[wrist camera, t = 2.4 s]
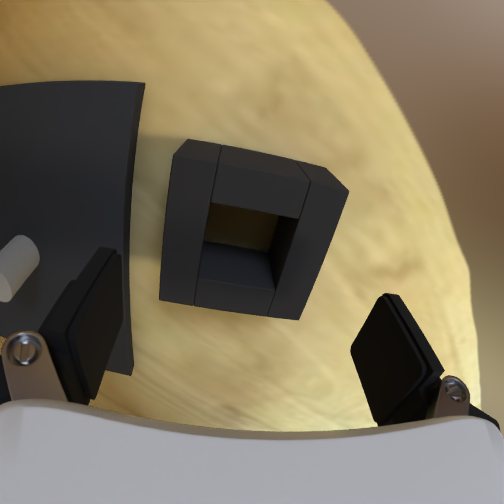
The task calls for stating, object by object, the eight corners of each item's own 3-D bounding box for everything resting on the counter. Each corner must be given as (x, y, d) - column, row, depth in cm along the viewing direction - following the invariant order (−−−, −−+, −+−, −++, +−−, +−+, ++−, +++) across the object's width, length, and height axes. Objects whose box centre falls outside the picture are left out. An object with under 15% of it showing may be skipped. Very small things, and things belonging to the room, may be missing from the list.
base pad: (-38, 93, 10) (-87, 107, 6) (145, 83, 12) (107, 82, 8) (0, 325, 19) (-23, 361, 15) (134, 364, 22) (122, 413, 18)
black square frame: (187, 138, 13) (172, 153, 10) (326, 168, 15) (349, 191, 12) (170, 261, 17) (158, 300, 14) (289, 280, 18) (298, 320, 15)
